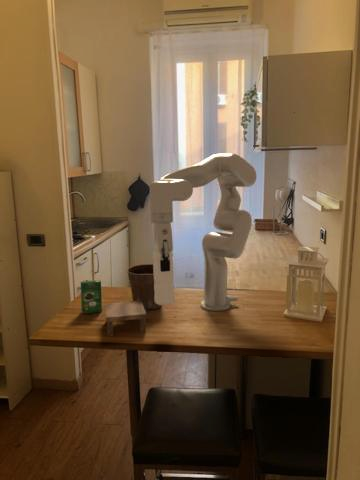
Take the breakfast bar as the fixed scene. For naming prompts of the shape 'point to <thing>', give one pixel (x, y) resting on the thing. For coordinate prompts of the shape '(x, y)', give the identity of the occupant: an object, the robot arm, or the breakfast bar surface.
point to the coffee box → (91, 296)
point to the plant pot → (143, 285)
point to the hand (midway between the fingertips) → (163, 267)
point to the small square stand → (125, 313)
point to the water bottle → (163, 280)
